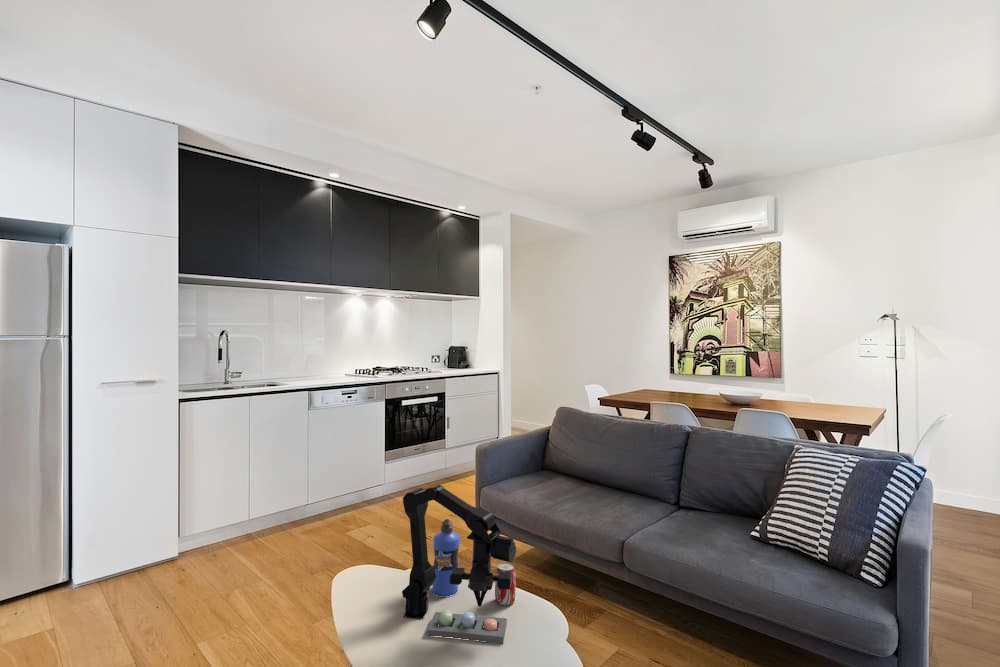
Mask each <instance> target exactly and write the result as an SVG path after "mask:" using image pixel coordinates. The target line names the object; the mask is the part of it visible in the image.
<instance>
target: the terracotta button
mask: <svg viewBox="0 0 1000 667" xmlns="http://www.w3.org/2000/svg"><path fill="white" fill-rule="evenodd" d="M483 630H488V631H498V629H497V621H496V620H494V619H487V620H485V621H484V627H483Z"/></svg>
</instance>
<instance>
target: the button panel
mask: <svg viewBox="0 0 1000 667" xmlns="http://www.w3.org/2000/svg"><path fill="white" fill-rule="evenodd" d="M440 612H441V611H440ZM440 612H439V611H438V612H437V611H435V612H434V614H433V616H432V618H431V622H430V623H429V626H428V628H427V630H426V631H427V632H426V637H427V636H442V637H453V638H461V639H469V640H479V641H486V642H485V643H489V642H493V643H492V644H500V645H501V644H502V645H504V643H505V642H504V641H505V636H506V629H507V624H508V623H507V622H508V621H507V620H508V619H507V618H506V617H505V618H504V617H495V616H485V615H484V616H483V615H475V624H474V628H472V629H466V628H462V626H461V625H462V614H463V613H452V625H451V626H449V627H445V626H440V625H439V614H440ZM487 619H494V620H496V621H497V628H498V629H497V631H488V630H484V627H483V626H484V621H485V620H487ZM438 625H439V626H438ZM460 627H461V628H460ZM469 640H468V641H469ZM479 641H478V642H479Z"/></svg>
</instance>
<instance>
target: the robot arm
mask: <svg viewBox="0 0 1000 667" xmlns="http://www.w3.org/2000/svg"><path fill="white" fill-rule="evenodd" d="M402 497H403V498H402V505H403V508H404V510H403V511H404V512H405V514H406V516H407V517H408V519H409V526H410V540H411V541H410V542H411V553H412V554H411V556H412V566H411V570H410V573H409V580H408V585H407V586H406V587H405V588H404V589H403V590H402V591H401V594H402V598H403V599H405V611H404V614H403V617H404V618H408V619H409V618H412V619H422V620H423V619H424V618H425V615H426V614H427V613H428V611H429V597H428V591H430V589H431V588H432V587H433V583H434V582H435V578H436V574H435V565H434V564H433V565H432V564H431V563H430V561H429V555H428V545H427V531H426V518H425V516H426V513H427V510H428V507H429V502H431V501H435V502H436V503H437V504H439V505H441V506H442V507H443V508H445V509H446V510H448V511H450V512H451V513H453V514H454V515H455V516H457V517H458V518H460V519H461V520H463V522H464V523H465V525H466V527H467V528H468V529H469V530H470V531H471V533H470V534H468V535H467V536H466V539H467V540H471V541H473V542H472V561H471V562H472V563H471V566H472V567H470V572H466V568H465V567H458V568H457V567H455V568H454V569H453V570H452V572H451V574H450V581H449V583H450V584H455V585H458V586H460V585H461V584H462V583H463V580H464V581H465V580H466V581H468V585H467V587H468V589H469V590H470V591H472V592H473V593H474V596H475V600H476V604H477V607H479V608H480V607H482V605H483V601H484V599H485V597H486V595H487V592H488V591H491V590H492V588H493V586H494V584H495V583H497V586H498V587H499V588H500V589H507V590H508V589H510V587H511V582H512V574H511V573H510V572H500V571H499V576H496V574H495V575H494V573H493V572H491V570H492V569H491V567H492V566H491V565H492V559H494V560H498V561H503V562H506V563H513V561H514V560H515V557H516V552H517V545H516V542H515V540H514V537H511V536H508V537H507V536H502V531H501V530H500V528H499V526H498V524H497V522H496V520H495V515H494V514H493V513H492V512H490V511H489V510H486V509H483V508H481V507H476V506H473V505H471V504H469V503H467V502H466V501H465V500H464V499H462V498H460V497H458V496H456V495H455V494H453V492H450V491H449V490H448V489H446V488H445V487H444V486H443V485H441V484H436V485H435V486H431V487H428V488H425V489H424V488H422V487H418V488H415V489H413V490H411V491H409V492H406V493H405V495H404V496H402ZM489 531H491V532H490V533H489Z"/></svg>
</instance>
